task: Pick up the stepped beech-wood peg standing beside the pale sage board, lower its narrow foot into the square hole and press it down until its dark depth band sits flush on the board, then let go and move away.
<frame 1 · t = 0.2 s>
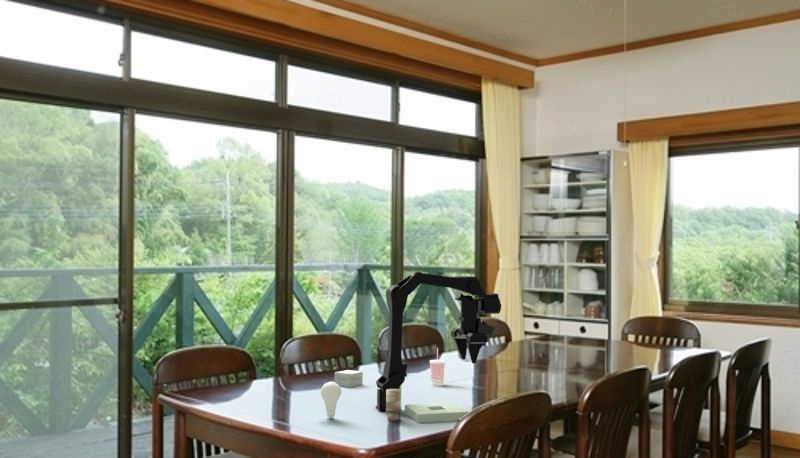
hand: (468, 361, 247), 14 cm above the table, fingers open, 9 cm apart
peg: (393, 419, 225), on the table
lightbulb: (330, 419, 226), on the table
beverage cup: (437, 385, 284), on the table
board: (436, 416, 230), on the table
small box: (348, 385, 282), on the table
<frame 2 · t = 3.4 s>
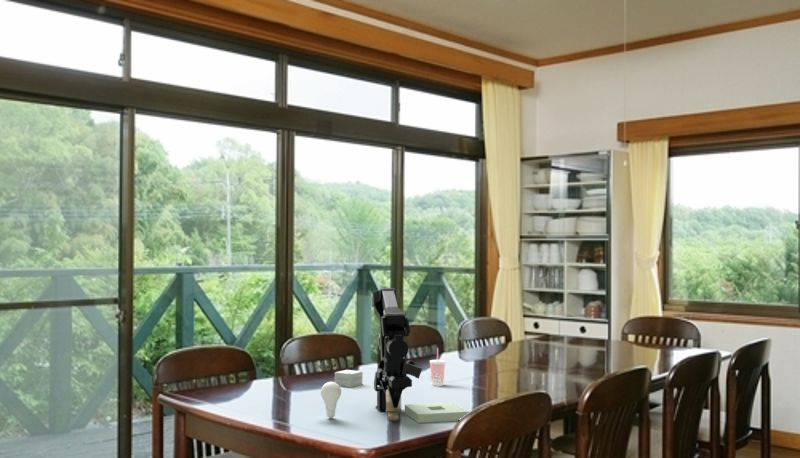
hand: (393, 406, 225), 4 cm above the table, fingers closed on peg, 4 cm apart
peg: (393, 419, 225), on the table, touching gripper
everything else where it was.
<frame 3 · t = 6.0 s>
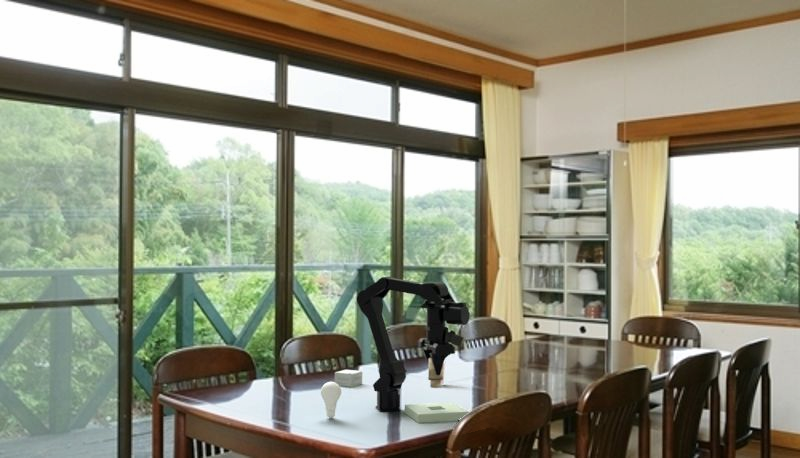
hand: (435, 373, 230), 13 cm above the table, fingers closed on peg, 4 cm apart
peg: (435, 387, 230), point 9 cm above the table, touching gripper
everything else where it was.
when the fingers open (4 cm above the table, at t = 8.8 s): peg stays where it is, resting in board.
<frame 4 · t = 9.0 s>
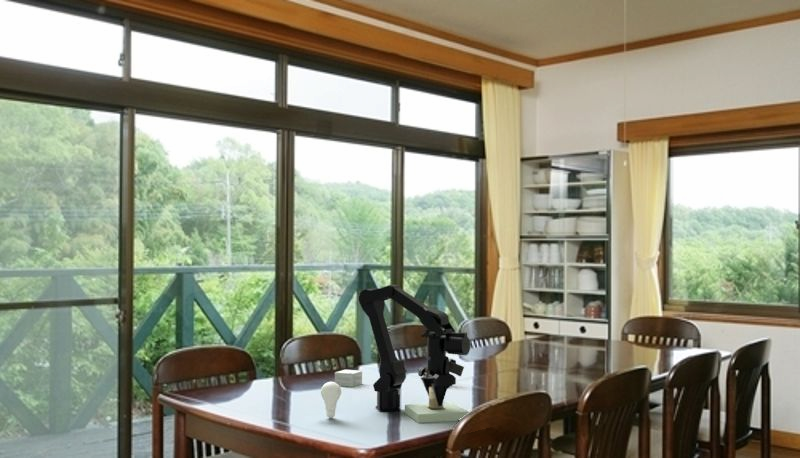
hand: (436, 403, 230), 4 cm above the table, fingers open, 7 cm apart
peg: (436, 416, 230), resting in board
everything else where it was.
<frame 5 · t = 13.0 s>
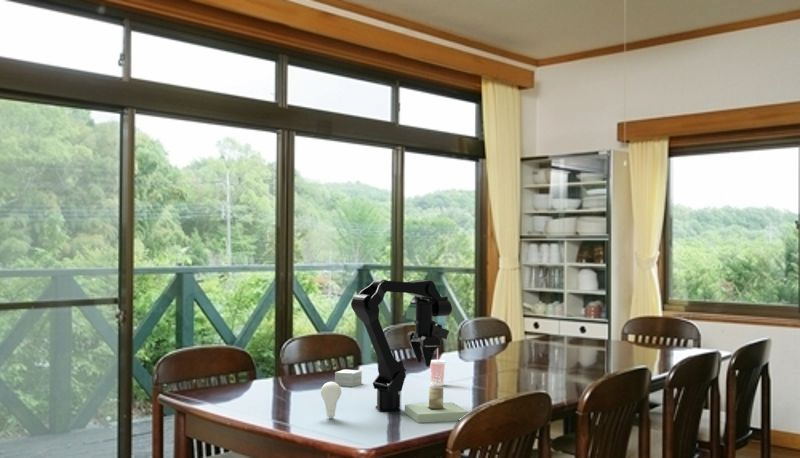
hand: (423, 364, 249), 13 cm above the table, fingers open, 9 cm apart
at the end: peg 0.0 cm off-centre on the board, point 0.0 cm above the board's base; peg tilted 0°; the gripper is holding nothing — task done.
